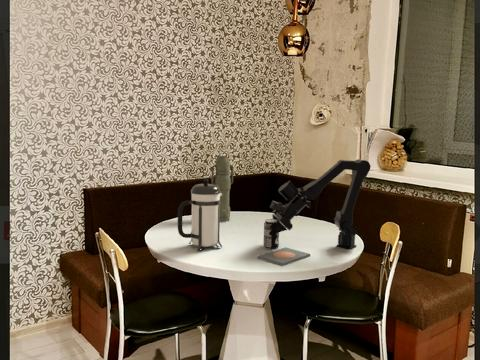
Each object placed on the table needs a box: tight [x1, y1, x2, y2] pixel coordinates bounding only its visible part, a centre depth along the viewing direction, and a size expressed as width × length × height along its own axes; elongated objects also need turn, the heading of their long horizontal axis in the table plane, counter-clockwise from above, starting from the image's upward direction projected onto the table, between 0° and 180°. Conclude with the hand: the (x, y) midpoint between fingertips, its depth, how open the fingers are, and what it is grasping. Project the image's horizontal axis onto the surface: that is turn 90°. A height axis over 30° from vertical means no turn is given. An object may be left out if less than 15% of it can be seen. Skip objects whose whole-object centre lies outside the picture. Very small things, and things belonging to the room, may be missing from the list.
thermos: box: [211, 155, 234, 222], centre depth 249 cm, size 9×12×35 cm
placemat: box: [257, 247, 311, 267], centre depth 187 cm, size 13×18×1 cm
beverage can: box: [263, 218, 280, 250], centre depth 201 cm, size 7×7×12 cm
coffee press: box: [177, 178, 223, 251], centre depth 197 cm, size 17×16×30 cm
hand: (268, 232), depth 200 cm, fingers closed on beverage can, 7 cm apart
